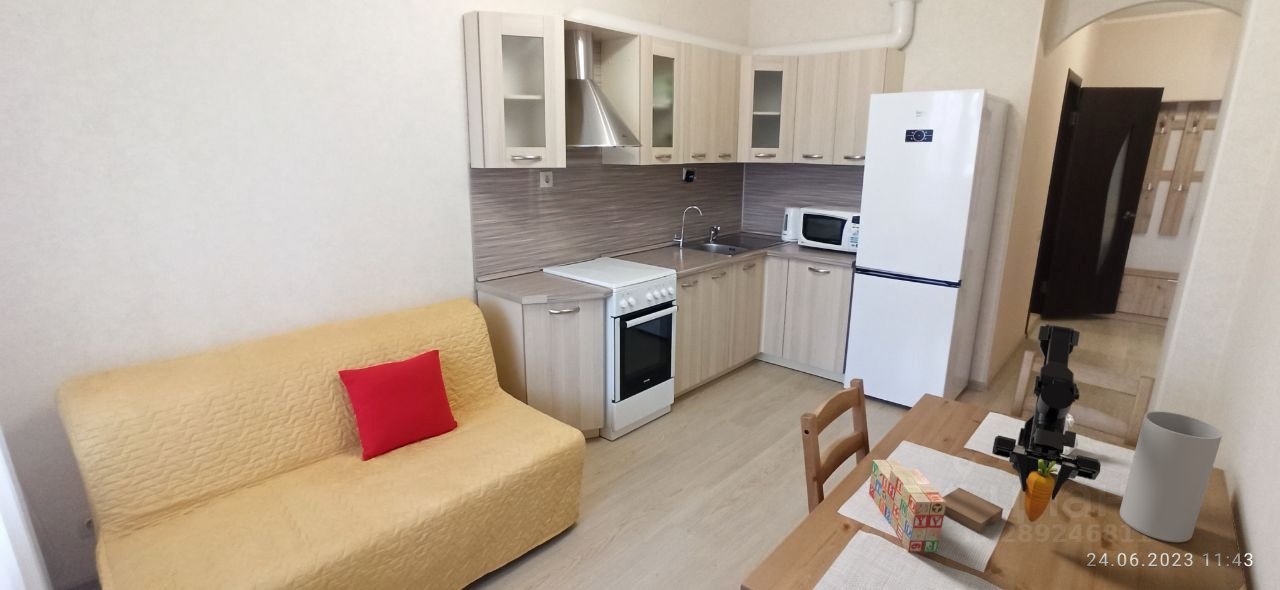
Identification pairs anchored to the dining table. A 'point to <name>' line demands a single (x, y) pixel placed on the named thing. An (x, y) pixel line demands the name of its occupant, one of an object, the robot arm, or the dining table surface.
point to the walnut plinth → (971, 510)
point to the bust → (1069, 422)
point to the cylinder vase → (1169, 475)
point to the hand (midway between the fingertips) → (1038, 495)
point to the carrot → (1039, 490)
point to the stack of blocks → (908, 504)
